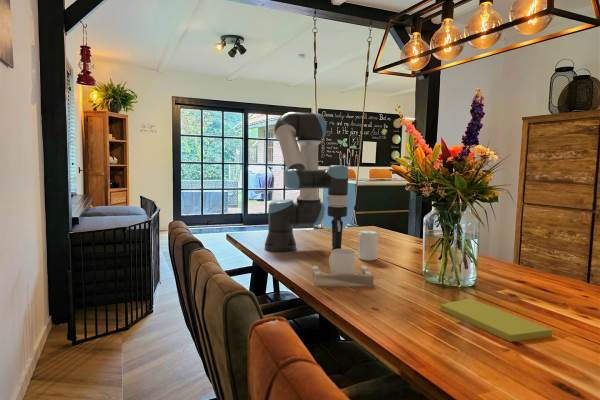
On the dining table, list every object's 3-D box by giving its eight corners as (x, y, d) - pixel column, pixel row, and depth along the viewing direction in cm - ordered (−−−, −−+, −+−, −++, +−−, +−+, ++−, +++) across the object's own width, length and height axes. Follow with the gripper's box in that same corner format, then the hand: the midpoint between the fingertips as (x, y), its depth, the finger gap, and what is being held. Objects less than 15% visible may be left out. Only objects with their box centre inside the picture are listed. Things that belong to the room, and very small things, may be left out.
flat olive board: (440, 311, 111) (519, 348, 89) (440, 304, 110) (520, 339, 89) (469, 305, 116) (551, 338, 94) (470, 298, 116) (552, 329, 94)
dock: (312, 275, 143) (312, 265, 143) (365, 275, 144) (365, 265, 144) (315, 286, 130) (315, 276, 130) (373, 286, 131) (373, 276, 131)
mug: (320, 275, 143) (320, 248, 142) (338, 272, 147) (339, 245, 146) (340, 284, 132) (341, 255, 131) (359, 280, 137) (359, 252, 136)
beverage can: (356, 260, 166) (357, 232, 165) (360, 255, 173) (361, 229, 172) (375, 262, 163) (376, 234, 162) (378, 257, 170) (379, 230, 169)
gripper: (326, 203, 154) (324, 261, 157) (329, 207, 141) (328, 270, 144) (344, 203, 155) (343, 261, 157) (350, 208, 142) (348, 270, 144)
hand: (335, 265), depth 151 cm, fingers closed
